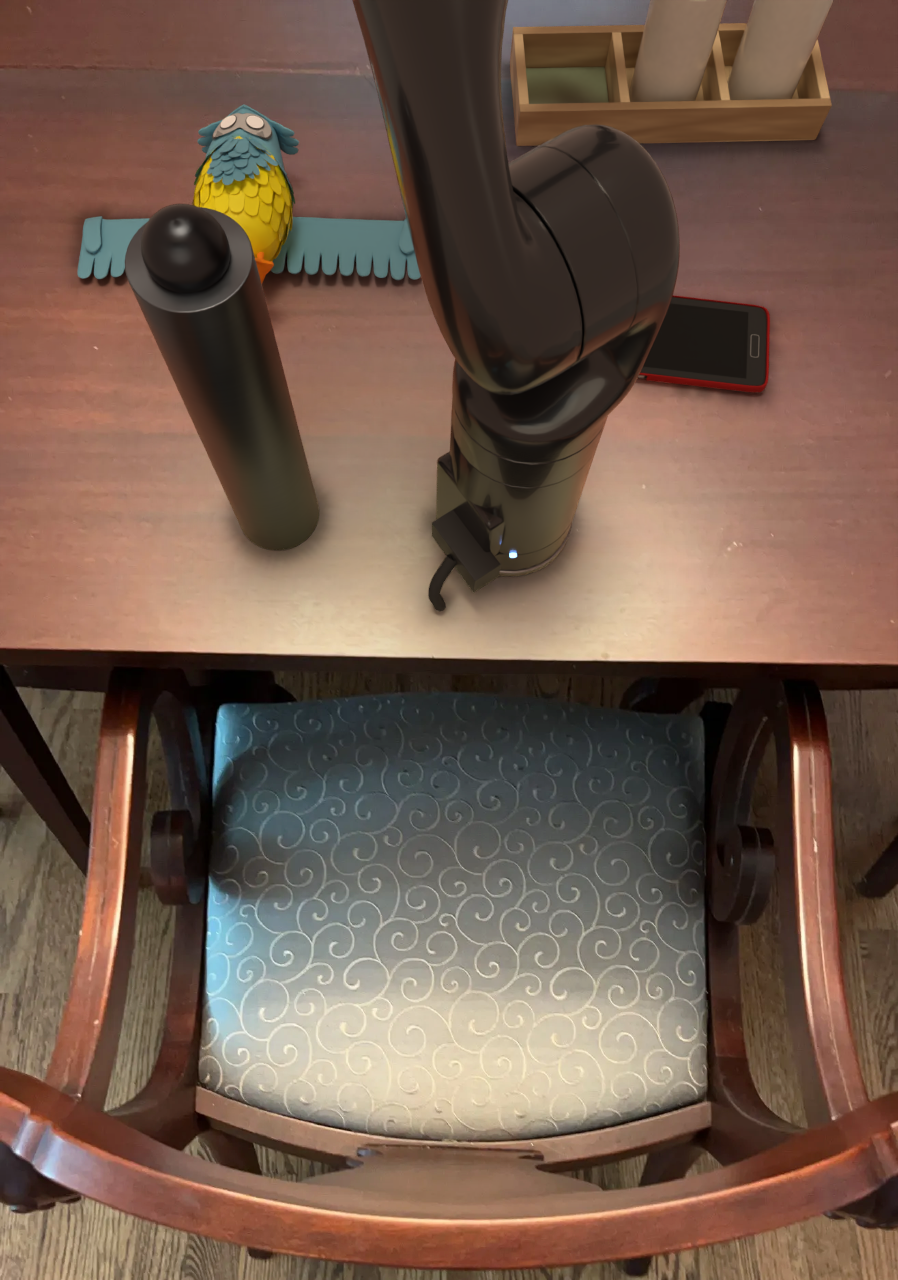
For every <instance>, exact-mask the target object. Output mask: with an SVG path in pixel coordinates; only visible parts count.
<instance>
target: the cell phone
mask: <svg viewBox="0 0 898 1280" xmlns="http://www.w3.org/2000/svg"><path fill="white" fill-rule="evenodd" d="M770 335H771V315H770V312H769V310H768V308H766V307H764V306H761V305H757V304H752V303H742V302H736V301H735V302H733V301H725V300H717V299H708V298H699V297H690V296H683V295H674V294H673V296H672V299H671V302H670V305H669V308H668V311H667V313H666V316H665V318H664V320H663V323H662V325H661V327H660V330H659V332H658V334H657V336H656V339H655V341H654V343H653V345H652V347H651V350H650V352H649V354H648V356H647V358H646V361H645V363H644V365H643V367H642V369H641V372H640V374H639V376H638V378H637V379H644V380H645V381H648V382H658V383H665V384H666V383H667V384H675V385H682V386H683V385H684V386H692V387H693V386H694V387H699V388H700V387H701V388H709V389H719V390H728V391H736V392H745V393H761V392H763V391H764V390H765V389H766V387H767V386H768V383H769V376H770V343H771V342H770V339H771V336H770Z"/></svg>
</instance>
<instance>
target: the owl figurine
mask: <svg viewBox="0 0 898 1280" xmlns="http://www.w3.org/2000/svg"><path fill="white" fill-rule="evenodd" d="M197 132H198V135H200V137H199V138H198V139H197V144H198V145H199V146H202V147H201V151H202V152H203V153H204V154H205V158H204V160H203V162H202V163H201V164H200V166H199V167H198V168H197V170H196V171H195V173H194V178H195V179H194V182H193V186H194V190H193V198H192V202H191V205H194V206H197V207H202V208H208V209H213V210H216V211H219V212H221V213H223V214H225V215H227V216H229V217H230V218H232V219H233V220H235V221H236V222H237V223H238V224H239V225H240V226H241V227H242V228H243V229H244V231H245V232H246V234H247V235H248V237H249V240H250V242H251V245H252V249H253V253H254V257H255V261H256V264H257V268H258V272H259V276H260V280H261V284H263V282H264V280H265V278H266V275H267V274H268V273H269V272H271V273H273V274H282V273H283V272H284V269H285V265H286V263H287V271H288V273H290V274H292V275H297V274H300V273H301V271H302V270H303V269H302V268H303V263H304V271H305V274H307V275H310V276H314V275H316V274H317V273H318V272H319V269H320V261H321V271H322V273H323V274H324V275H326V276H332V275H335V273H336V272H337V268H338V267H339V273H340V275H342V276H344V277H349V276H351V275H352V274H353V273H354V268H356V274H357V275H358V276H360V277H363V278H365V277H368V276H369V275H370V274H371V271H372V264H373V275H374V276H375V277H377V278H380V279H384V278H386V277H387V276H388V274H389V271H390V276H391V278H392V279H393V280H395V281H401V280H403V279H404V278H405V275H406V274H405V273H406V268H407V275H408V278H410V279H411V280H418V279H420V278H421V275H420V272H419V269H418V265H417V261H416V257H415V253H414V249H413V245H412V241H411V237H410V233H409V229H408V225H407V220H406V217H405V218H404V220H389V219H364V218H363V219H362V218H361V219H358V218H357V219H356V218H329V217H314V216H313V217H311V216H293V208H294V205H296V198H295V195H294V194H295V192H294V188H293V186H292V184H291V182H290V179H289V178H288V173H287V171H286V170H285V165H284V160H283V154H282V152H283V153H284V154H286V155H289V156H294V155H296V154H298V153H299V149H298V147H297V146H299V144H300V141H299V140H298V139H297V138H295V137H294V135H295V131H294V130H293V129H290V128H288V127H286V126H284V125H282V124H281V123H279V122H277V121H276V120H272V119H270V118H269V117H268V116H266V115H265V114H262V113H261V112H260V111H258V110H256V109H254V108H252V107H250V106H249V105H247V104H244V103H243V104H242V105H240V106H238V107H237V108H235V109H234V110H233V111H231V112H230V113H229V114H228V115H227V116H225V117H224V118H223V119H220V120H217V121H216V122H215V121H214V122H212V123H209V124H208V125H206V126H203V127H202V128H199V130H198V131H197ZM150 218H151V217H150ZM150 218H116V219H115V218H114V219H105V218H103V215H101V216H92V217H88V218H87V217H86V218H85V219H84V221H83V226H82V238H81V245H80V250H79V251H80V252H79V257H78V264H77V271H76V273H77V277H78V278H80V279H87V278H90V277H91V275H92V273H93V276H94V277H95V279H97V280H103V279H105V278H107V276H108V275H109V271H110V276H111V277H112V278H118V277H121V276H122V275H123V274H124V272H125V255H126V251H127V248H128V245H129V243H130V241H131V239H132V238H133V236H134V235H135V233H136V232H137V231H138V230H139V229H140V228H141V227H142V226H143V225H144V224H145V223H146V222H148V221H149V219H150ZM286 257H287V261H286ZM355 262H356V263H355ZM372 262H373V263H372ZM338 265H339V266H338ZM355 265H356V267H355ZM337 266H338V267H337ZM406 266H407V267H406ZM389 269H390V270H389Z"/></svg>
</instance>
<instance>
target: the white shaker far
mask: <svg viewBox="0 0 898 1280" xmlns="http://www.w3.org/2000/svg"><path fill="white" fill-rule="evenodd" d="M834 1H835V0H754V1H753V3H752V7H751V9H750V13H749V15H748V18H747V21H746V23H747V24H746V27H745V30H744V33H743V36H742V39H741V41H740V44H739V47H738V50H737V53H736V56H735V59H734V62H733V65H732V68H731V71H730V73H729V76H728V79H727V83H728V89H729V95H730V100H768V99H792V97H793V95H794V93H795V90H796V88H797V86H798V83H799V81H800V79H801V76H802V74H803V72H804V69H805V67H806V65H807V62H808V60H809V58H810V55H811V53H812V51H813V48H814V46H815V44H816V41H817V39H819V37H820V34H821V32H822V30H823V28H824V26H825V23H826V20H827V18H828V15H829V13H830V11H831V9H832V6H833V4H834Z"/></svg>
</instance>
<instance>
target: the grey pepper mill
mask: <svg viewBox="0 0 898 1280" xmlns="http://www.w3.org/2000/svg"><path fill="white" fill-rule="evenodd" d="M124 272H125V276H126V279H127V281H128V284H129V286H130V288H131V291H132V292H133V295H134V297H135V299H136V302H137V303H138V305H139V308H140V311H141V312H142V314H143V317H144V319H145V321H146V323H147V326H148V327H149V329H150V332H151V334H152V336H153V339H154V341H155V343H156V346H157V347H158V350H159V352H160V354H161V356H162V359H163V360H164V362H165V363H164V364H165V365H166V367H167V369H168V372H169V373H170V376H171V378H172V380H173V382H174V384H175V386H176V387H175V388H176V389H177V391H178V393H179V396H180V397H181V400H182V402H183V405H184V406H185V408H186V411H187V413H188V415H189V417H190V419H191V421H192V424H193V426H194V428H195V431H196V433H197V435H198V437H199V439H200V441H201V443H202V446H203V447H204V448H203V449H204V450H205V453H206V454H207V457H208V459H209V461H210V463H211V465H212V468H213V470H214V472H215V474H216V476H217V479H218V481H219V482H220V485H221V487H222V489H223V492H224V494H225V496H226V499H227V500H228V503H229V505H230V507H231V509H232V511H233V514H234V516H235V518H236V520H237V522H238V524H239V526H240V529H241V531H242V532H243V534H244V535H245V537H246V538H247V539H248V540H249V541H250V542H251V543H253V544H254V545H255V546H258V547H259V548H262V549H264V550H269V551H286V550H291V549H293V548H296V547H298V546H300V545H301V544H303V543H304V542H306V541H307V540H308V539H309V537H311V536H312V534H313V533H314V532H315V530H316V528H317V525H318V522H319V518H320V506H319V502H318V497H317V494H316V490H315V487H314V483H313V478H312V474H311V471H310V467H309V464H308V459H307V456H306V452H305V448H304V444H303V439H302V436H301V432H300V429H299V425H298V420H297V417H296V412H295V409H294V405H293V401H292V397H291V393H290V390H289V385H288V381H287V377H286V374H285V370H284V366H283V362H282V358H281V354H280V350H279V347H278V343H277V339H276V338H277V337H276V335H275V331H274V327H273V324H272V323H273V322H272V320H271V319H272V318H271V316H270V315H271V314H270V312H269V308H268V304H267V300H266V296H265V293H264V287H263V285H262V284H263V283H262V284H261V280H260V276H259V272H258V268H257V264H256V261H255V257H254V253H253V249H252V245H251V242H250V240H249V237H248V235H247V234H246V232H245V231H244V229H243V228H242V227H241V226H240V225H239V224H238V223H237V222H236V221H235V220H233V219H232V218H230V217H229V216H227V215H225V214H223V213H221V212H219V211H216V210H213V209H208V208H202V207H197V206H194V205H192V204H190V203H172V204H169V205H166V206H164V207H162V208H160V209H158V210H157V211H155V212H154V214H153V215H151V216H150V219H149V221H148V222H146V223H145V224H144V225H143V226H142V227H141V228H140V229H139V230H138V231H137V232H136V233H135V235H134V236H133V238H132V239H131V241H130V243H129V245H128V248H127V251H126V255H125V270H124Z"/></svg>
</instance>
